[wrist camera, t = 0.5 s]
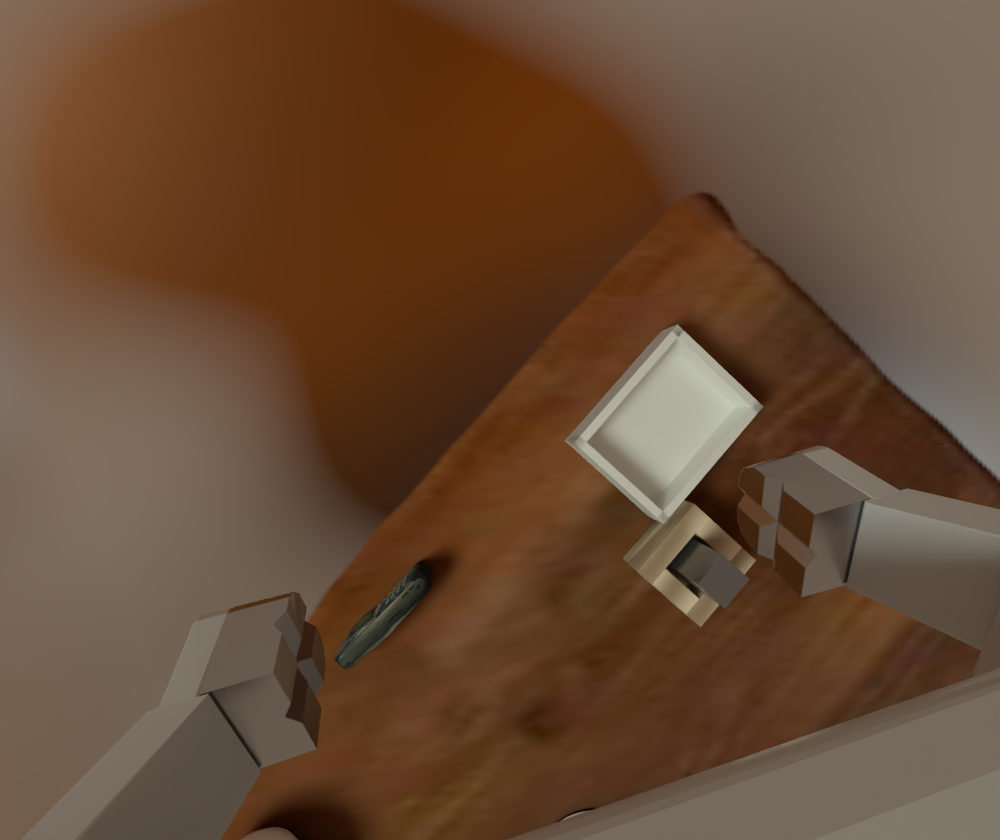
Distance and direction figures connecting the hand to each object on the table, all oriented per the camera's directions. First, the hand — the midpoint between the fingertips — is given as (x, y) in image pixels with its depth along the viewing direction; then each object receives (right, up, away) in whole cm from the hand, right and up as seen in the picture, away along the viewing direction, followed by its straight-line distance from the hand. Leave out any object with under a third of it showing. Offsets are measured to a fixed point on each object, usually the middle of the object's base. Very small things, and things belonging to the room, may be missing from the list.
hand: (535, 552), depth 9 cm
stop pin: (+21, -14, +52) cm, 58 cm away
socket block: (+21, -14, +54) cm, 59 cm away
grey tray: (+18, +2, +53) cm, 56 cm away
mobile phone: (-14, -20, +50) cm, 56 cm away
